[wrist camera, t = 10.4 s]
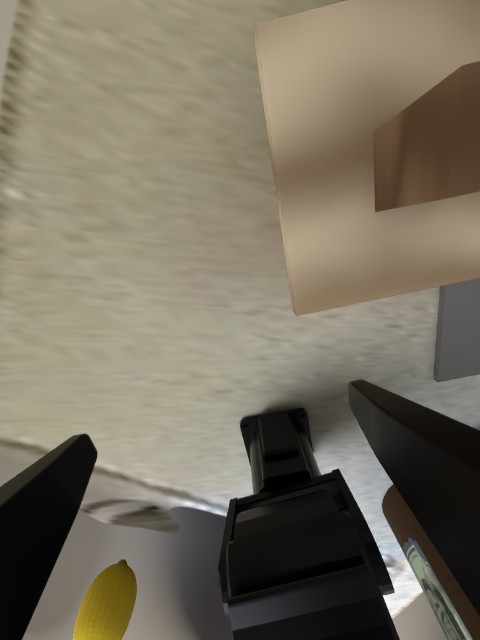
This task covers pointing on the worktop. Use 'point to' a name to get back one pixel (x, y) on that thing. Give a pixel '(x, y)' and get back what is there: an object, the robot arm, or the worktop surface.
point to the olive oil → (431, 571)
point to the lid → (374, 146)
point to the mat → (458, 331)
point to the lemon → (107, 605)
